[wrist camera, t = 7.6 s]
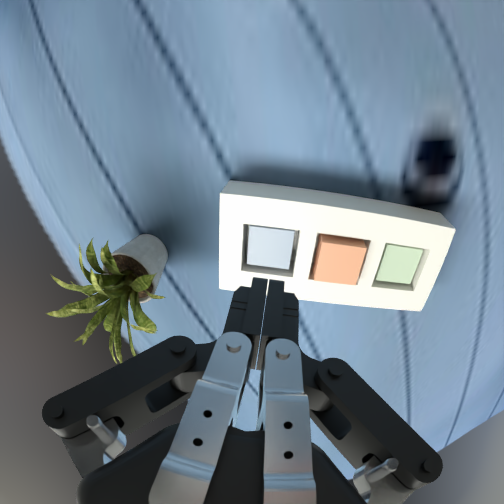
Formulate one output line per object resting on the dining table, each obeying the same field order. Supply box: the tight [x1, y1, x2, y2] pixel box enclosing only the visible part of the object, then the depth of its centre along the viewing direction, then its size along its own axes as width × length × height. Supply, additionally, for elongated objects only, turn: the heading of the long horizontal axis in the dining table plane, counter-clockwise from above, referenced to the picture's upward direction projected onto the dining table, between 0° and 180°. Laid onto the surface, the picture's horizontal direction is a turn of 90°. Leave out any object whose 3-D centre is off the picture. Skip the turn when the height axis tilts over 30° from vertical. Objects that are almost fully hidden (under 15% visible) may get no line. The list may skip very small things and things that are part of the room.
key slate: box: [247, 224, 295, 269], centre depth 30 cm, size 4×4×2 cm
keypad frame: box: [219, 180, 456, 311], centre depth 30 cm, size 24×11×4 cm, turn 86°
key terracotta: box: [313, 233, 367, 285], centre depth 28 cm, size 4×4×2 cm
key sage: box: [375, 243, 423, 284], centre depth 29 cm, size 4×4×2 cm
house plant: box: [47, 234, 168, 363], centre depth 29 cm, size 14×14×16 cm
